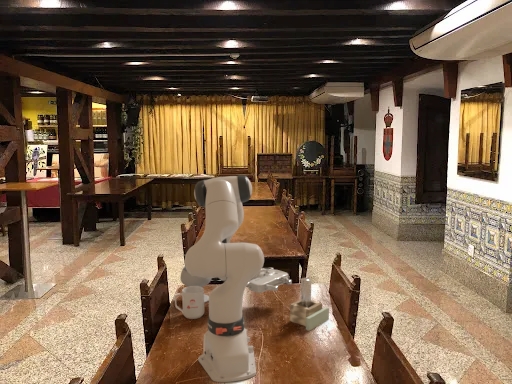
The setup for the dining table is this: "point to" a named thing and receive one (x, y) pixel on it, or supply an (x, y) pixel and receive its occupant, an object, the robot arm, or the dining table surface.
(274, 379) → the dining table surface
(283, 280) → the robot arm
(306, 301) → the dowel
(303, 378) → the dining table surface
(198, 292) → the mug
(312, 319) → the wall
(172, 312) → the dining table surface
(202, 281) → the chalice
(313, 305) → the socket block
